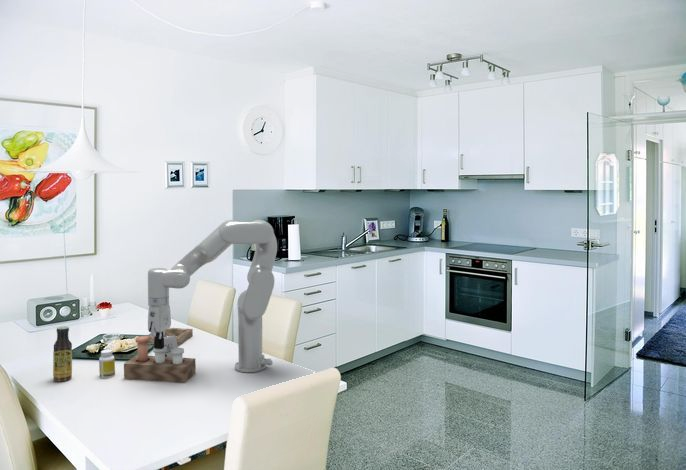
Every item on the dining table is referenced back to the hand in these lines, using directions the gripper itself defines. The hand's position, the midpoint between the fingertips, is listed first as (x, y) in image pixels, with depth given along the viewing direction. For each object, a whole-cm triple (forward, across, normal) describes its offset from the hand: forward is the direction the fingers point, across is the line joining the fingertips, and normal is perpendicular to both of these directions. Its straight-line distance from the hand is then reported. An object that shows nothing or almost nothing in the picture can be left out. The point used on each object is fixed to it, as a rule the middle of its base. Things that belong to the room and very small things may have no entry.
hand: (159, 347), depth 200 cm
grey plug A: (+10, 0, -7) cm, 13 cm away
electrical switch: (+11, +19, +7) cm, 23 cm away
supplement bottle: (+12, -3, +20) cm, 23 cm away
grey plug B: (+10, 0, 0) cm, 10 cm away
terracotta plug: (+7, 0, +7) cm, 10 cm away
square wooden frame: (+11, +43, +17) cm, 48 cm away
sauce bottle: (+12, -9, +34) cm, 37 cm away
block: (+11, 0, 0) cm, 11 cm away
